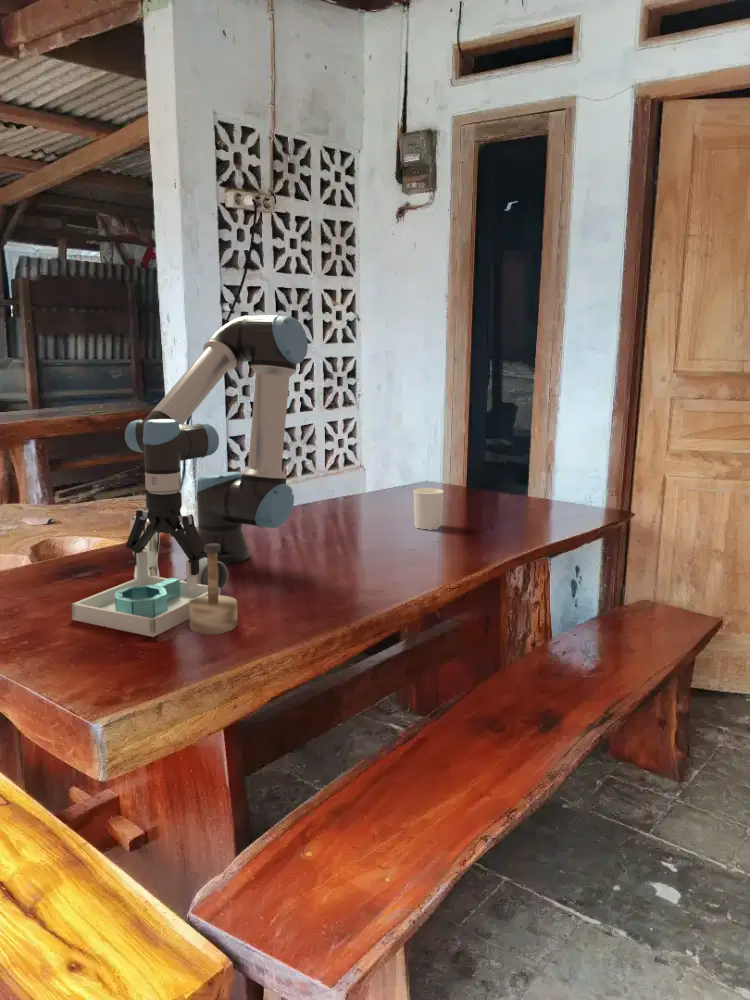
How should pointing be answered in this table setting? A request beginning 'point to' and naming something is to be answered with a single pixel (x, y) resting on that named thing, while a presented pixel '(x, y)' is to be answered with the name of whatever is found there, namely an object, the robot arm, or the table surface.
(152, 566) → the beer glass
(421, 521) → the candle holder
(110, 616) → the tray
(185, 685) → the table surface
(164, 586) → the ring
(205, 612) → the wooden peg stand
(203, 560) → the ceramic mug
